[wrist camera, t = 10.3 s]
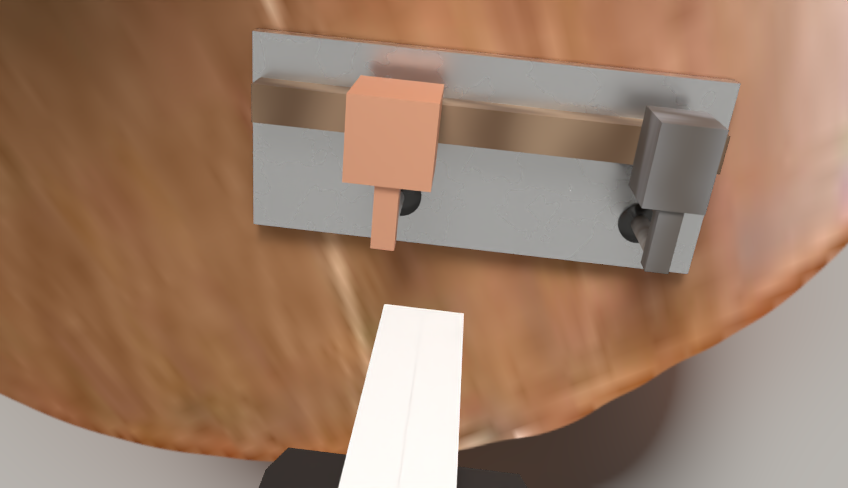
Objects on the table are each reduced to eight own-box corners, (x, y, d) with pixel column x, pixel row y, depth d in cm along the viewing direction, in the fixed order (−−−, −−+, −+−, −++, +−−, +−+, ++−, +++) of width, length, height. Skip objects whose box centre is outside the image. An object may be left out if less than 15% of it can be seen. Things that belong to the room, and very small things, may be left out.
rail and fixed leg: (260, 191, 48) (232, 225, 43) (260, 56, 45) (230, 75, 39) (689, 239, 48) (716, 280, 42) (725, 107, 44) (760, 133, 39)
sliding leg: (357, 204, 48) (338, 246, 42) (365, 69, 44) (346, 93, 38) (431, 212, 48) (424, 256, 42) (445, 77, 44) (439, 103, 38)
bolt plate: (258, 217, 51) (252, 224, 49) (257, 28, 45) (251, 31, 44) (683, 266, 50) (688, 274, 49) (734, 79, 44) (741, 84, 43)
